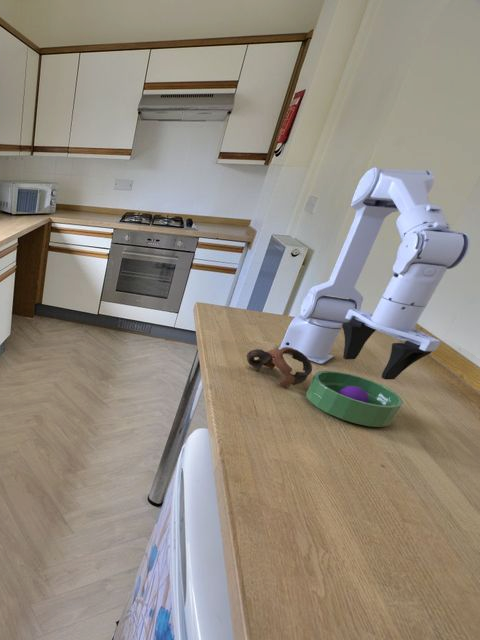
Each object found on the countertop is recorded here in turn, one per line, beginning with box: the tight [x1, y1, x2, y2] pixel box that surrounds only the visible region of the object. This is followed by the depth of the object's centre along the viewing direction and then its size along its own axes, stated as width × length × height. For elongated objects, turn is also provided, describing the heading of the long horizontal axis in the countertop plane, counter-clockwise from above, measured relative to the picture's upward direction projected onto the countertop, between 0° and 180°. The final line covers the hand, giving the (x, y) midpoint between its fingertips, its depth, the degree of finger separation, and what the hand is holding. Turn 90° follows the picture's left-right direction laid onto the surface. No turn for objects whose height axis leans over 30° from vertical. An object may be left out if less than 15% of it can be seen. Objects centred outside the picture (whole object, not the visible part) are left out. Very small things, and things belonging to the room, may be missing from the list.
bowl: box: [305, 370, 404, 428], centre depth 81 cm, size 13×13×5 cm
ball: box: [339, 386, 369, 403], centre depth 80 cm, size 4×4×4 cm
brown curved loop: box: [246, 347, 313, 388], centre depth 91 cm, size 12×10×8 cm
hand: (367, 368), depth 78 cm, fingers open, 7 cm apart
